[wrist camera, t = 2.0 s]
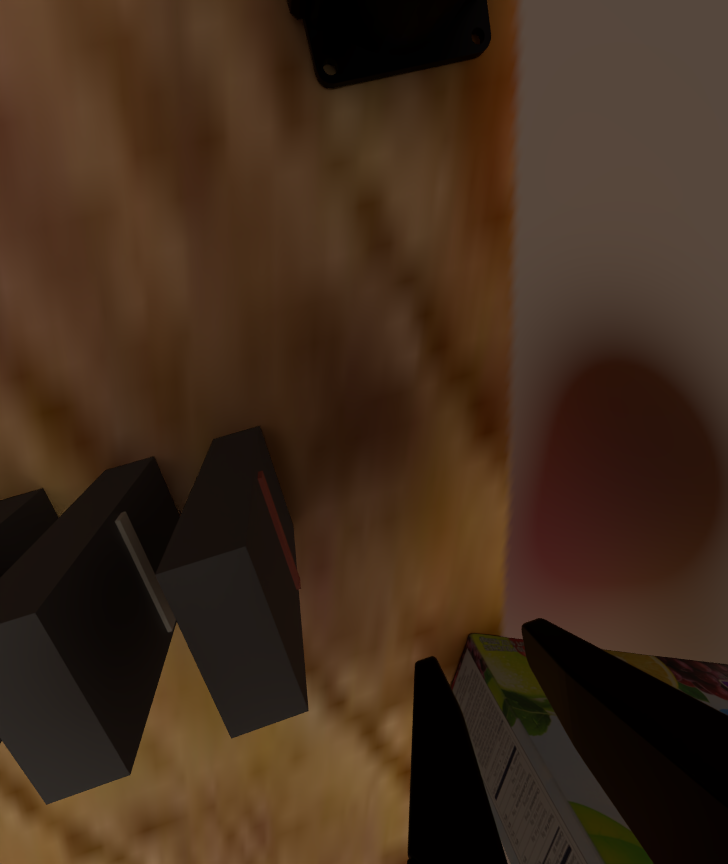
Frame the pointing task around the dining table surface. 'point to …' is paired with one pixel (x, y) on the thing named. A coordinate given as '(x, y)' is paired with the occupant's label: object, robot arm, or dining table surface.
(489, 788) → the snack box
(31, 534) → the domino
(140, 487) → the domino
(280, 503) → the domino
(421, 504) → the dining table surface
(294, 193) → the dining table surface
